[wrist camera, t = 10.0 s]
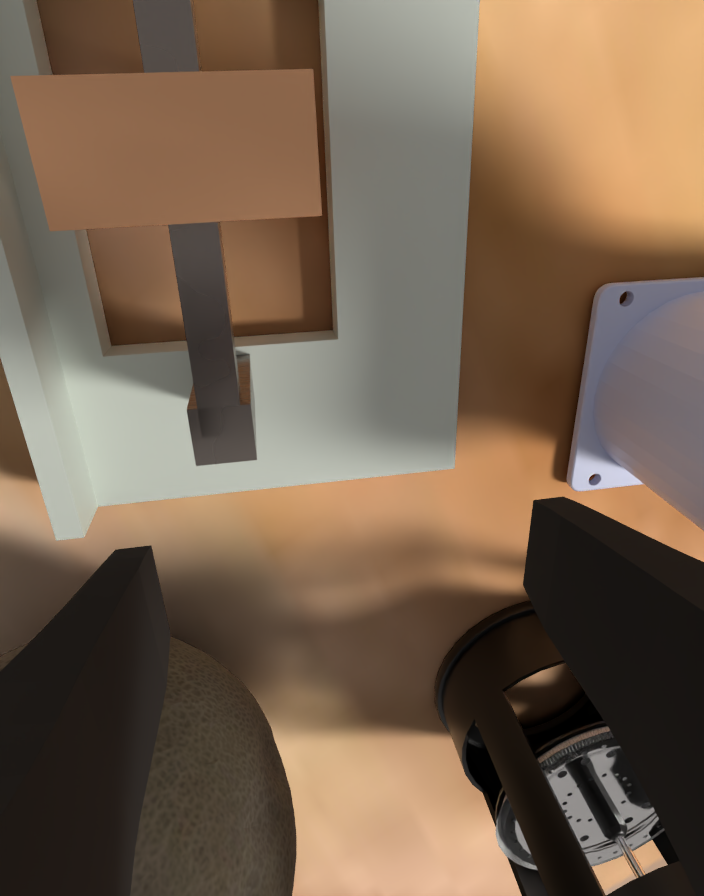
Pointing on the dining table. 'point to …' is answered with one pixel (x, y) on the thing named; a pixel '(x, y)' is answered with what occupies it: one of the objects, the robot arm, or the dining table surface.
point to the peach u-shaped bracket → (172, 146)
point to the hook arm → (202, 274)
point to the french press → (547, 769)
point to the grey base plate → (276, 355)
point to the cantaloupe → (212, 790)
